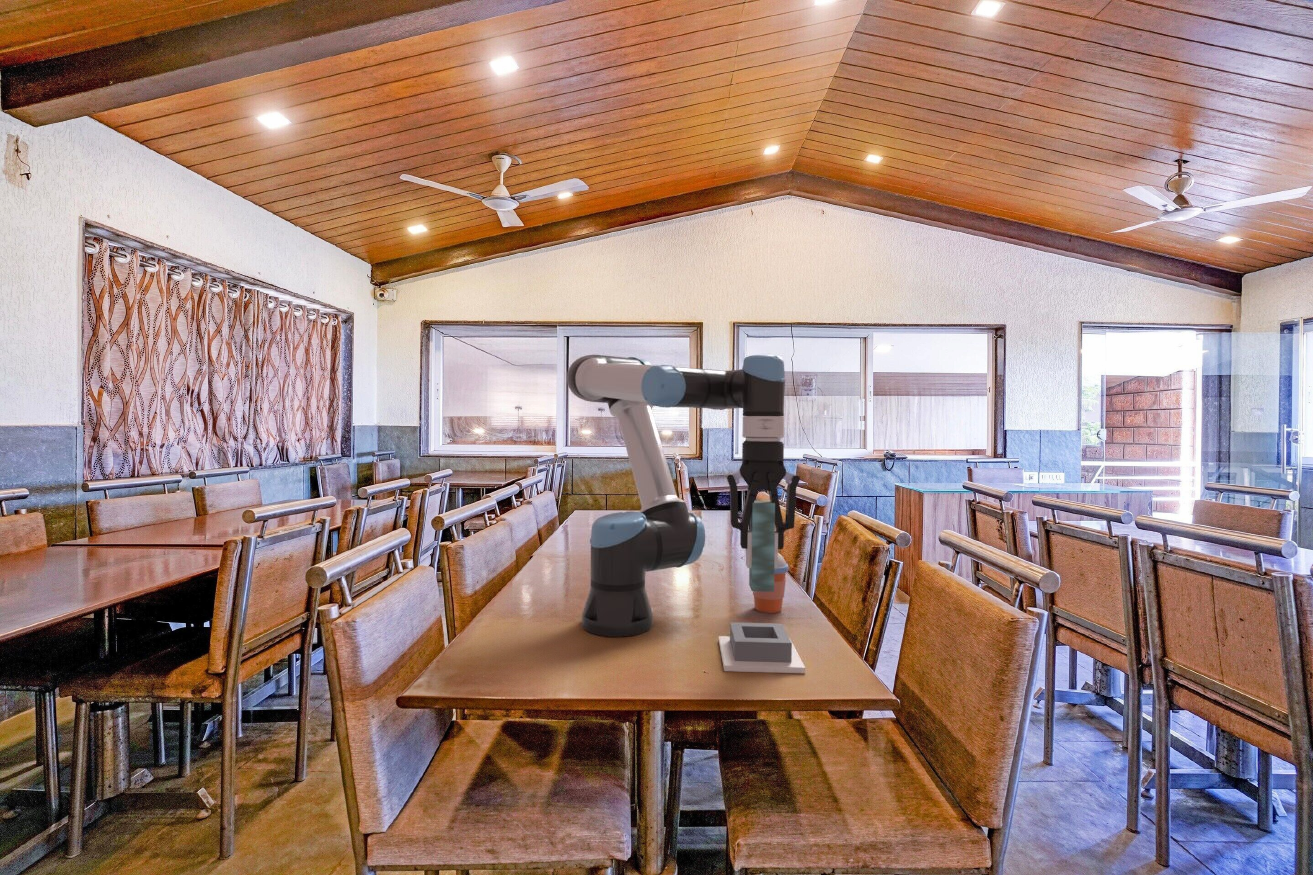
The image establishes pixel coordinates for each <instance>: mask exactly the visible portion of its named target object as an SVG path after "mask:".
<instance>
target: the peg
mask: <svg viewBox="0 0 1313 875" xmlns="http://www.w3.org/2000/svg"><path fill="white" fill-rule="evenodd" d="M749 530H751V532H752V568H748V570H749V574H748V576H749V577H748V578H749V579H748V585H749V588H750V591H751V592H753V591H766V592H774V554H775V530H776V527H775V503H772V502H771V501H770V500H754V503H752V514H751V518H750V523H749Z"/></svg>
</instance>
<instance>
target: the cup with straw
mask: <svg viewBox="0 0 1313 875" xmlns="http://www.w3.org/2000/svg"><path fill="white" fill-rule="evenodd" d="M789 569H790V567H789V564H788V563H787V562H786V560H785V559H784V556H783V555H781V553H779V552H778V568H774V592H766V591H752V596H753V603H754V609H755V610H756V611H758V612H759V613H760V612H761V613H766V614H776V613H779V612H781V611H782V608H783V607H782V606H783V599H784V597H785V591H786V590H785V589H786V582H787V577H786V573H788V572H789Z"/></svg>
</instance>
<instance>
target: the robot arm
mask: <svg viewBox="0 0 1313 875" xmlns="http://www.w3.org/2000/svg"><path fill="white" fill-rule="evenodd" d="M742 362H743V364H742V368H741V369H732V370H723V369H722V370H720V369H708V368H694V367H685V366H674V365H668V364H667V365H666V364H660V365H657V364H656V365H653V364H652V362H651V363H650V362H649V361H648V360H646V359H642V358H637V357H634V356H630V357H629V356H628V357H623V356H612V355H604V354H602V355H601V354H588V355H584V356H581V357H578V358H577V359H575V360H574V361H573V362H572V363H571V364H570V366H569V368H568V370H567V374H566V382H567V386H568V388H569V390H570V392H572V394H573V395H574V396H576V398H579V399H580V400H583V401H587V402H591V403H603V404H604V403H605V404H607V405H608V406H607V407H608V410H609V413H610V415H611V416H612V417H614V418H616V419H618V424H619V427H620V430H621V434H622V438H623V442H624V445H625V448H626V454H627V457H628V460H629V465H630V468H631V471H632V475H633V480H634V484H635V486H636V490H637V494H638V498H639V503H640V506H641V508H640V510H639V511H624V512H623V511H621V512H619V511H618V512H614V513H613V512H612V513H609V514H605V515H603V516H600V517H598V518H597V519H595V520H594V522H593V523H592V525H591V530H590V531H591V532H590V539H589V544H590V588H589V592H588V595H587V598H586V601H585V605H584V607H583V611H582V613H581V627H582V628H583V629H584V630H585V631H586V632H587V633H588V632H589V633H591V634H592V635H593V634H594V635H598V636H604V637H629V636H635V635H639V634H643V633H645V632H647V631H649V630H651V628H652V627H653V624H654V621H653V620H654V615H653V614H654V613H653V610H652V607H651V604H650V600H649V597H648V594H647V589H646V573H647V572H653V571H658V570H666V569H672V568H682V567H684V566H688V565H691V564H694V563H695V562H697V561H698V560H699V558H700V557H701V556H702V554H703V551H704V548H705V546H706V529H705V525H704V523H703V520H702V519H701V517H699V516H698V515H697V514H696V513H692V512H689V510H688V509H689V508H688V507H687V503H686V502H687V501H684V500H683V499H682V498H680V497H678V495H677V492H676V489H675V486H674V485H675V484H674V482H673V478H672V474H671V472H670V471H671V470H670V468H669V465H668V461H667V458H666V454H665V451H664V447H663V444H662V441H661V438H660V434H659V430H658V427H657V423H656V420H655V417H654V413H653V407H658V408H668V409H669V408H694V409H710V410H716V411H717V410H719V411H722V410H723V411H724V410H732V409H742V437H743V438H744V439H745V440H743V442H742V443H741V444H742V446H741V449H742V452H741V453H742V454H741V455H742V456H741V466H739V467H740V468H739V470H738V471H735V472H733V473H727V474H726V476H725V478H726V481H727V483H728V485H729V509H730V511H729V512H730V525H731V527H732V528H733V529H737V530H739V531H740V541H739V545H740V547H741V549H743V550H744V549H745V565H746V568H747V569H749V568H752V532H751V530H750V518H751V514H752V503H754V501H756V496H757V492H759V491H762V490H763V491H766V492H768V495H769V501H771V502H772V503H775V554H774V568H778V553H779V550H783V548H784V546H785V545H784V544H785V543H784V541H785V532H786V531H788V530H792V529H794V527H795V519H796V517H795V516H796V500H797V498H796V497H797V487H798V485H799V483H800V481H801V477H800V476H799V475H798V474H795V473H794V474H793V473H790V472H788V471H787V469H786V467H785V463H784V462H785V461H784V457H785V456H784V455H785V454H784V450H785V448H784V447H785V446H784V445H785V443H783V441H781V440H782V439H783V438H785V432H784V431H785V426H784V425H785V423H784V422H785V387H786V376H785V375H786V374H785V362H784V359H783V358H782V357H781V356H779V355H773V354H755V355H754V354H753V355H748V356H746V357H745V358H743V361H742ZM740 478H742V479H743V480H744V482H745V484H746V485H747V486H748V487H747V491H746V492H747V494H746V497H745V503H744V507H743V511H742V516H741V520H740V521H739V499H738V498H739V496H738V494H739V493H738V484H739V483H740ZM783 479H785V484H786V485H787V487H786V502H785V521H783V514H782V509H781V503H780V500H779V492H778V488H777V487H778V485H779V484H780V483H781V482H782V481H783Z"/></svg>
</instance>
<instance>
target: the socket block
mask: <svg viewBox="0 0 1313 875" xmlns="http://www.w3.org/2000/svg"><path fill="white" fill-rule="evenodd" d="M718 644H719V649H720V655H721V660H722V665H723V671H724V672H743V673H744V672H745V673H747V672H748V673H773V674H774V673H778V674H780V673H781V674H782V673H784V674H806V665H805V664H804V662H803V660H802V659H801V657H800V655H799V653H798V651H797V650H796V647H795V645H794V644H793V641H792V640H791V638H790V637H789V635H788V633H787V631H786V629H785V628H784V625H783V624H782V623H771V622H770V623H767V622H733V621H730V622H729V636H728V635H724V636H723V635H719V636H718Z"/></svg>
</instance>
